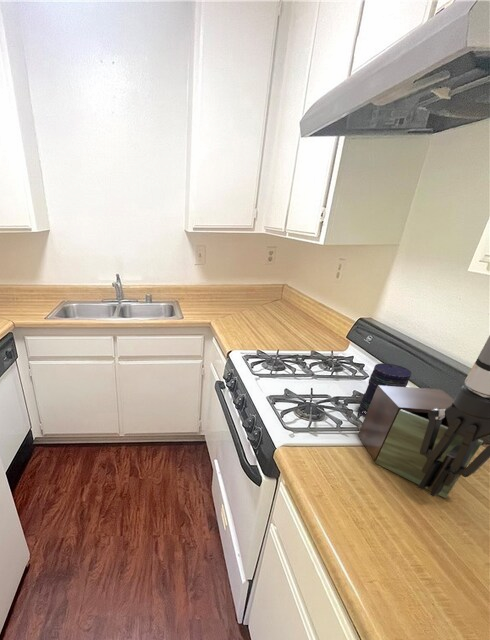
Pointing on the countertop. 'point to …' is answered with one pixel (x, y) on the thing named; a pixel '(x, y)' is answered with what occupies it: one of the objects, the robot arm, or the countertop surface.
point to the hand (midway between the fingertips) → (428, 489)
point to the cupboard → (387, 409)
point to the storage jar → (383, 381)
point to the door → (417, 450)
